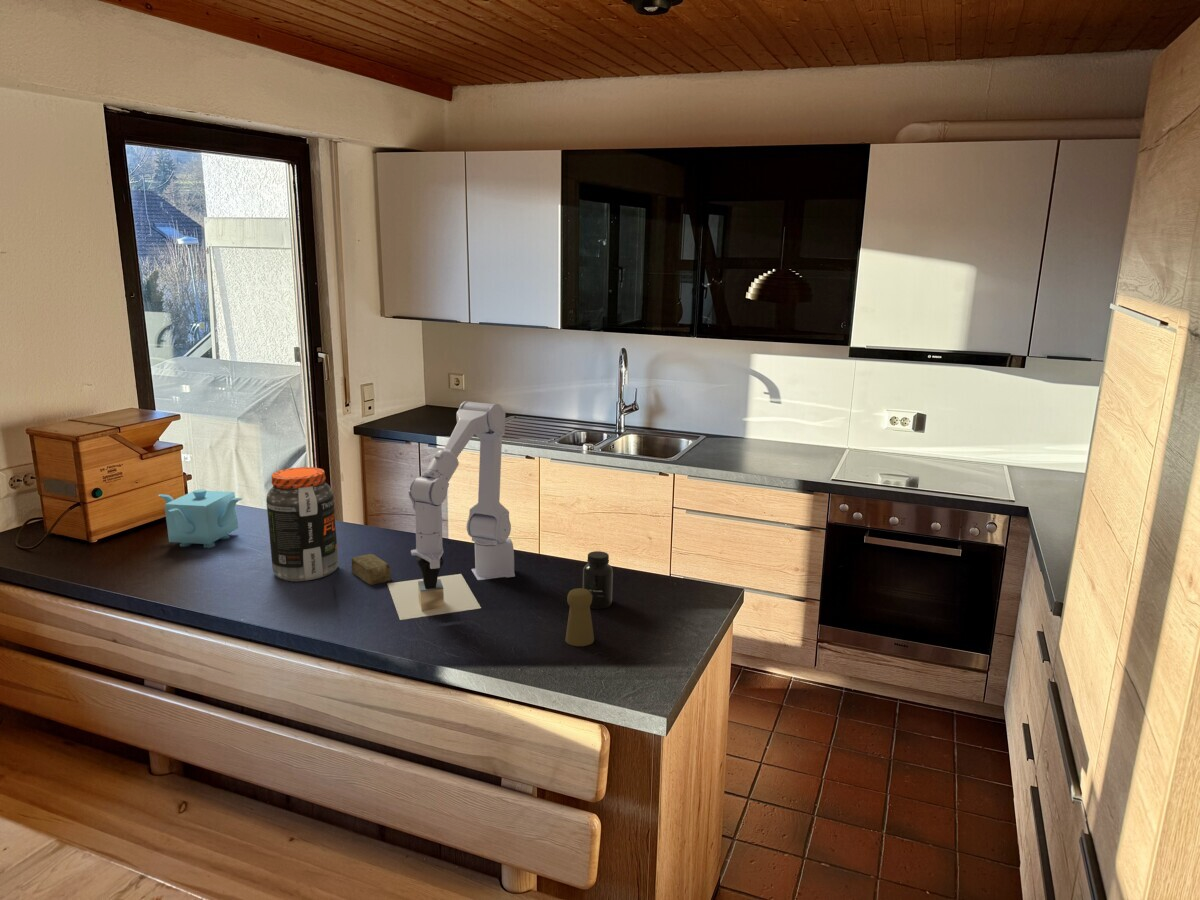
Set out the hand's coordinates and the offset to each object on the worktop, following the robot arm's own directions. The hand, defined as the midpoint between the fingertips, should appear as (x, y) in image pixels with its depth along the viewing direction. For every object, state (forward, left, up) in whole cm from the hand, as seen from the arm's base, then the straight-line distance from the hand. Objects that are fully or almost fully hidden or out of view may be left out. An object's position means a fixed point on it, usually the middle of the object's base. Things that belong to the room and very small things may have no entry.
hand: (430, 588), depth 188 cm
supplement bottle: (-37, +9, -6) cm, 38 cm away
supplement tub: (+25, -35, -6) cm, 43 cm away
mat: (-2, -7, -5) cm, 9 cm away
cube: (0, -2, 0) cm, 2 cm away
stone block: (+11, -25, -6) cm, 27 cm away
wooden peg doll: (-27, +25, -6) cm, 37 cm away
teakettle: (+51, -68, -6) cm, 85 cm away
